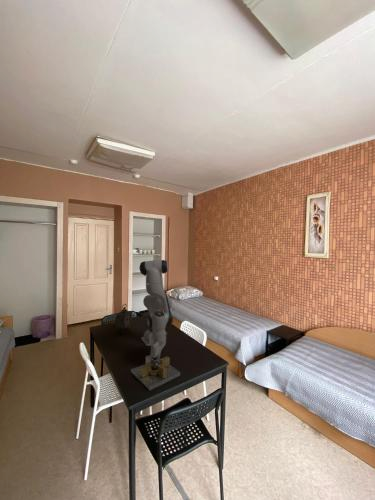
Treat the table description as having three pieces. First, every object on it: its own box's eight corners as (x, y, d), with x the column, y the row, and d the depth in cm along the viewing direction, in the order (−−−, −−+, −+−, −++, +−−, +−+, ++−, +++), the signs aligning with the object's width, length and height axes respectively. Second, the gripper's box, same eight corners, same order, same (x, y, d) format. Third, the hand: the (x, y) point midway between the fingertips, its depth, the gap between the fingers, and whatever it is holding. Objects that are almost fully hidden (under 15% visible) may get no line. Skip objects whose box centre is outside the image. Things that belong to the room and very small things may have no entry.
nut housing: (131, 372, 134) (131, 361, 134) (160, 360, 149) (160, 350, 149) (149, 390, 118) (149, 378, 118) (180, 375, 132) (180, 364, 132)
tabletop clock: (123, 333, 193) (123, 306, 193) (114, 332, 196) (115, 305, 196) (132, 328, 207) (132, 302, 207) (124, 327, 210) (124, 301, 210)
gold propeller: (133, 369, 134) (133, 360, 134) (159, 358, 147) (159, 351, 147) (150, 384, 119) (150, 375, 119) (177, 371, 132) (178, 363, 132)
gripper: (157, 344, 132) (157, 366, 132) (167, 331, 152) (167, 351, 152) (148, 343, 133) (147, 365, 133) (159, 330, 153) (159, 349, 153)
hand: (158, 357), depth 143 cm, fingers closed
